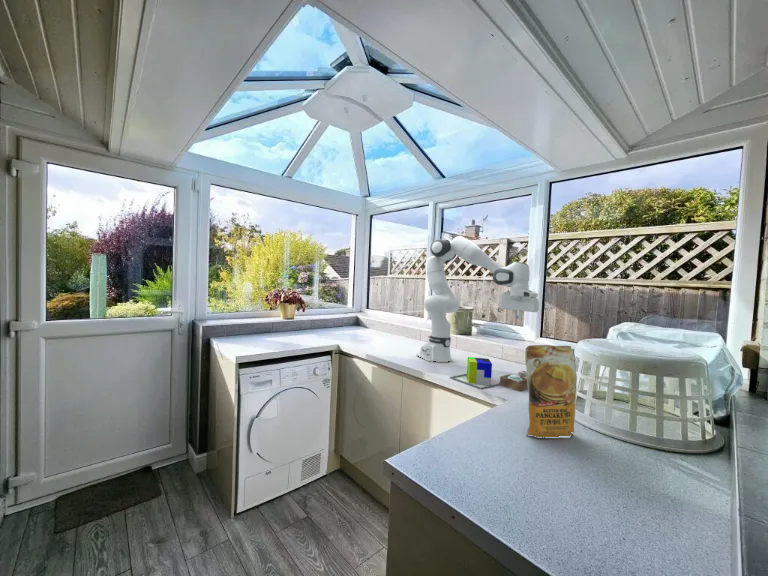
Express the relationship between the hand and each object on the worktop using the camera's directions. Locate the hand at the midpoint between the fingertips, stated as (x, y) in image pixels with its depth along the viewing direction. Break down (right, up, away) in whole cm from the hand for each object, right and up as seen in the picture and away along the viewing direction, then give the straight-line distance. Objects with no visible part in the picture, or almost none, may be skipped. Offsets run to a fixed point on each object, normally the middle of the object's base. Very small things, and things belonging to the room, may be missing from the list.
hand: (517, 319), depth 169 cm
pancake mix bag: (-19, -30, -68) cm, 76 cm away
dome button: (-10, -27, -20) cm, 36 cm away
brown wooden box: (-7, -29, -18) cm, 35 cm away
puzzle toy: (-25, -29, -14) cm, 41 cm away
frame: (-26, -28, -15) cm, 41 cm away
